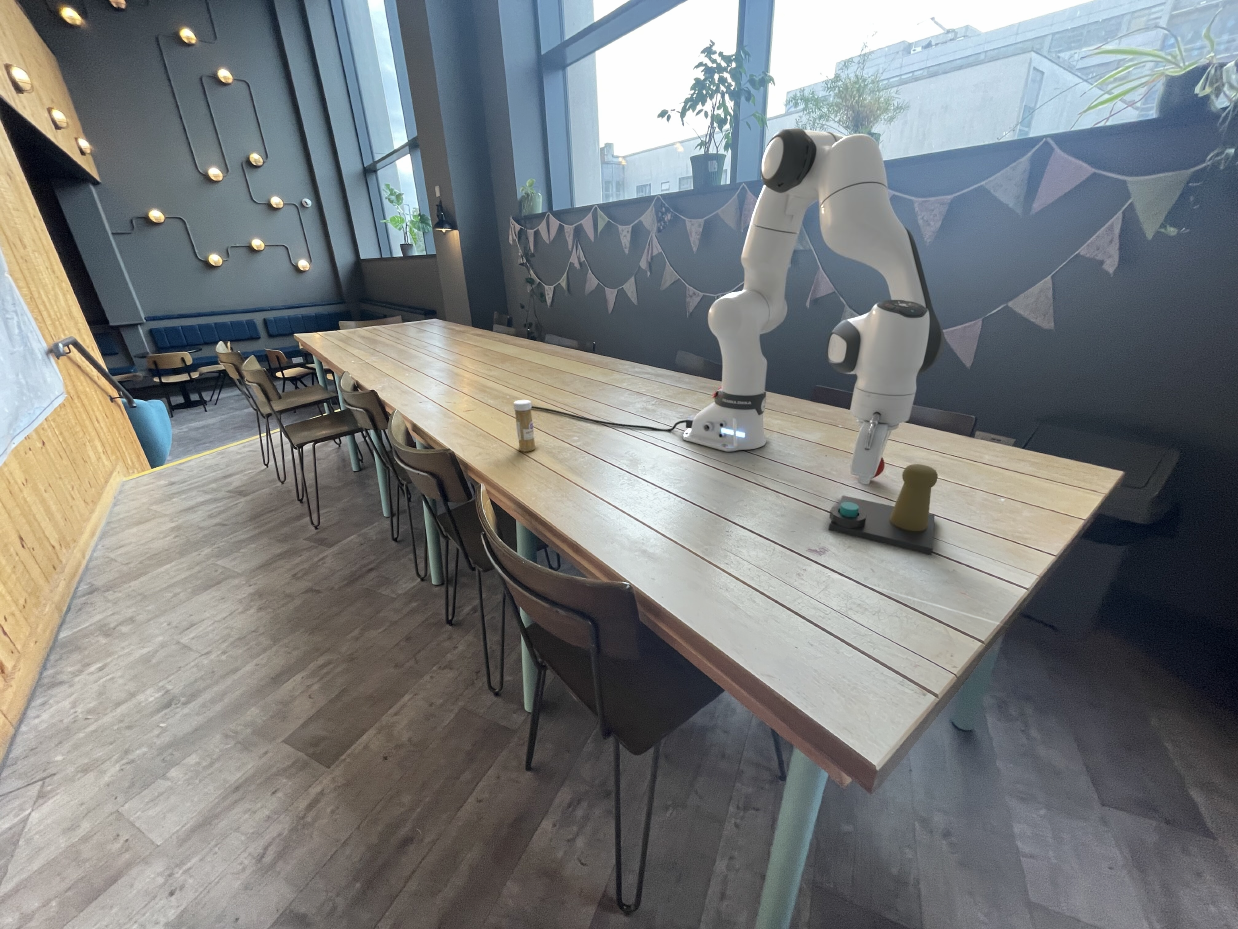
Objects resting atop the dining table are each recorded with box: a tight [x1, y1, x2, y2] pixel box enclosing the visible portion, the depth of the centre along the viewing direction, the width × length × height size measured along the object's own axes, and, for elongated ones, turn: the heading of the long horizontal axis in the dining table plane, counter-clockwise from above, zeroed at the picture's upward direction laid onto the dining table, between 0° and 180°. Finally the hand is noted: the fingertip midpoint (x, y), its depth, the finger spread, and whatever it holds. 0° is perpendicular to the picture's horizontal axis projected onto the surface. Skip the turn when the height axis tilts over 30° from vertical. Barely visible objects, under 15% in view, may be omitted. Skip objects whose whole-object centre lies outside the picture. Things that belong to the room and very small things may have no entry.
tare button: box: [839, 502, 859, 517], centre depth 86 cm, size 3×3×2 cm
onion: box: [871, 456, 885, 480], centre depth 103 cm, size 6×6×8 cm
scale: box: [828, 495, 936, 556], centre depth 87 cm, size 16×13×3 cm
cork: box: [889, 463, 939, 531], centre depth 83 cm, size 6×6×11 cm
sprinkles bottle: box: [513, 399, 536, 453], centre depth 126 cm, size 5×5×13 cm
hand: (864, 480), depth 83 cm, fingers closed
